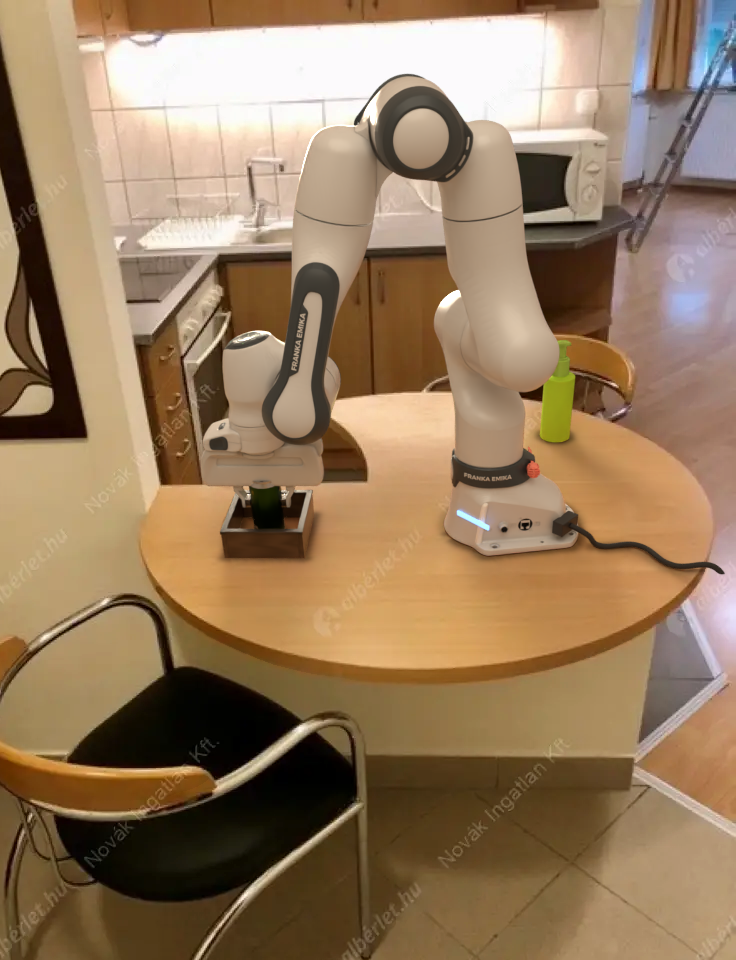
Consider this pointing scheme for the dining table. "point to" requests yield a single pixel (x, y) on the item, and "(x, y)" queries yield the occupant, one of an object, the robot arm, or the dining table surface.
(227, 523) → the basket
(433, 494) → the dining table surface
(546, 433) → the soap dispenser
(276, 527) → the beer can
